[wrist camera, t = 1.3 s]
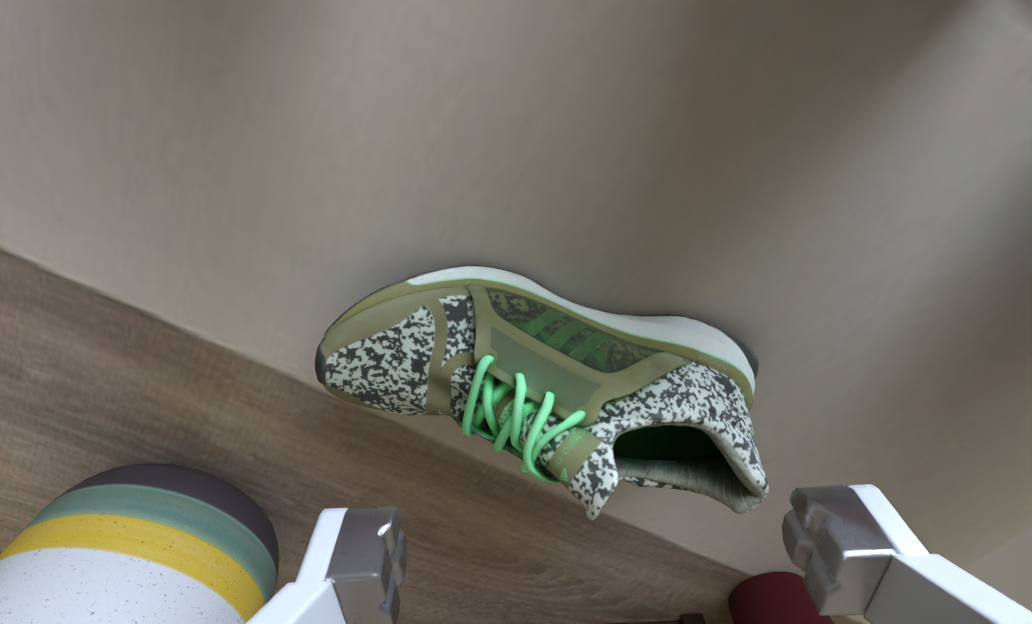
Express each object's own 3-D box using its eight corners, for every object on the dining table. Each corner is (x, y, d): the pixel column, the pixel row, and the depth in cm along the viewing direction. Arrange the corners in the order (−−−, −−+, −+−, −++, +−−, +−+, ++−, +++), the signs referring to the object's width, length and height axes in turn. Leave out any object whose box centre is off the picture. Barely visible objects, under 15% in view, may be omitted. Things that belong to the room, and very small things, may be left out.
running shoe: (333, 242, 31) (246, 363, 21) (776, 298, 34) (895, 434, 23) (336, 383, 37) (269, 536, 26) (720, 424, 39) (796, 580, 28)
